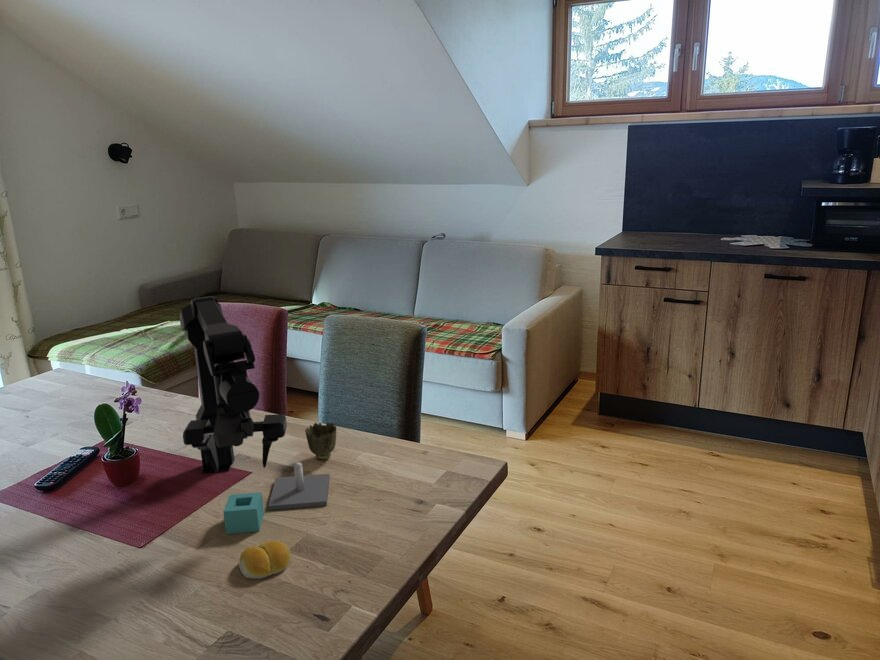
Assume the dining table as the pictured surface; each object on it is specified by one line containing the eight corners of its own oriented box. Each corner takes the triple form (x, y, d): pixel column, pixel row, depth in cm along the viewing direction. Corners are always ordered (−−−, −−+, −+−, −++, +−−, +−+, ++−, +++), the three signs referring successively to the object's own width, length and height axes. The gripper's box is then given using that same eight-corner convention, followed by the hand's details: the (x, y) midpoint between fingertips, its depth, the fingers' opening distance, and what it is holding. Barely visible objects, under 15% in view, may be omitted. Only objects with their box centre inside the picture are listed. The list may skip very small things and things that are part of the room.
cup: (342, 451, 162) (339, 422, 160) (334, 465, 155) (332, 435, 153) (312, 451, 163) (310, 421, 161) (304, 465, 156) (301, 434, 154)
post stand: (268, 510, 137) (265, 478, 135) (276, 481, 148) (273, 452, 146) (326, 505, 138) (324, 473, 136) (329, 477, 150) (327, 448, 148)
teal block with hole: (226, 533, 129) (223, 511, 127) (232, 516, 135) (229, 494, 134) (259, 531, 129) (256, 508, 128) (264, 513, 136) (261, 492, 134)
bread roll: (297, 568, 118) (295, 549, 117) (248, 586, 114) (246, 566, 112) (281, 545, 125) (279, 527, 124) (234, 562, 120) (232, 543, 119)
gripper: (169, 415, 116) (181, 493, 120) (276, 407, 118) (284, 484, 122) (185, 392, 127) (195, 465, 131) (283, 385, 129) (290, 457, 133)
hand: (240, 468), depth 129 cm, fingers open, 9 cm apart
